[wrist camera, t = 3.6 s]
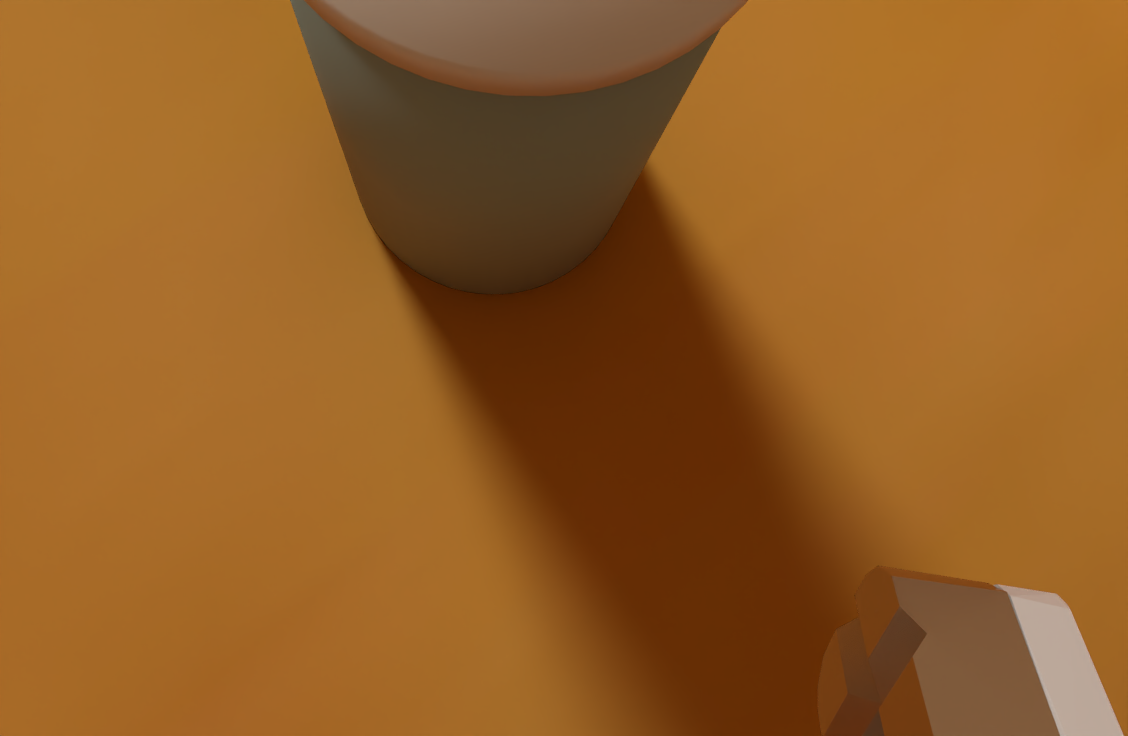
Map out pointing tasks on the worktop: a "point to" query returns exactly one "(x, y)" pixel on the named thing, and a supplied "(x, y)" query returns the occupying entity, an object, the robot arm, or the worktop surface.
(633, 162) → the tea tin
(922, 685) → the robot arm
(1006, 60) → the worktop surface
